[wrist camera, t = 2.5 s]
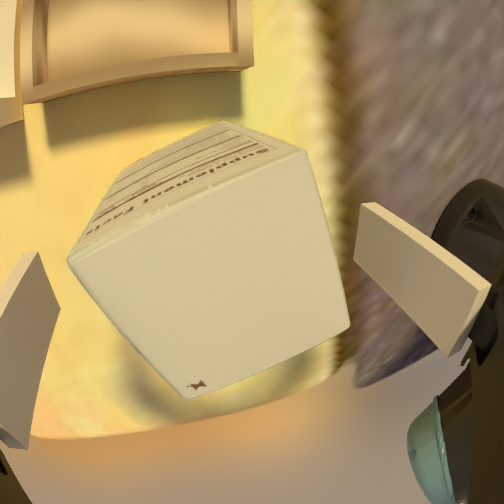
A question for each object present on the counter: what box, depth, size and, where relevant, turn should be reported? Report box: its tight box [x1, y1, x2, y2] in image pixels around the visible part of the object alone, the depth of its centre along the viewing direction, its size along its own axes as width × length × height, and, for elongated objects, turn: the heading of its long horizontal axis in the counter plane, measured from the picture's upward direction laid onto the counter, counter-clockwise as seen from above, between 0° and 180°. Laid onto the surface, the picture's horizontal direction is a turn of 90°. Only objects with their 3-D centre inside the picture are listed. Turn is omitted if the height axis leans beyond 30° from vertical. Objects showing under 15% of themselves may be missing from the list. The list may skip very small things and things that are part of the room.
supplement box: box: [67, 120, 350, 400], centre depth 14 cm, size 7×7×13 cm
